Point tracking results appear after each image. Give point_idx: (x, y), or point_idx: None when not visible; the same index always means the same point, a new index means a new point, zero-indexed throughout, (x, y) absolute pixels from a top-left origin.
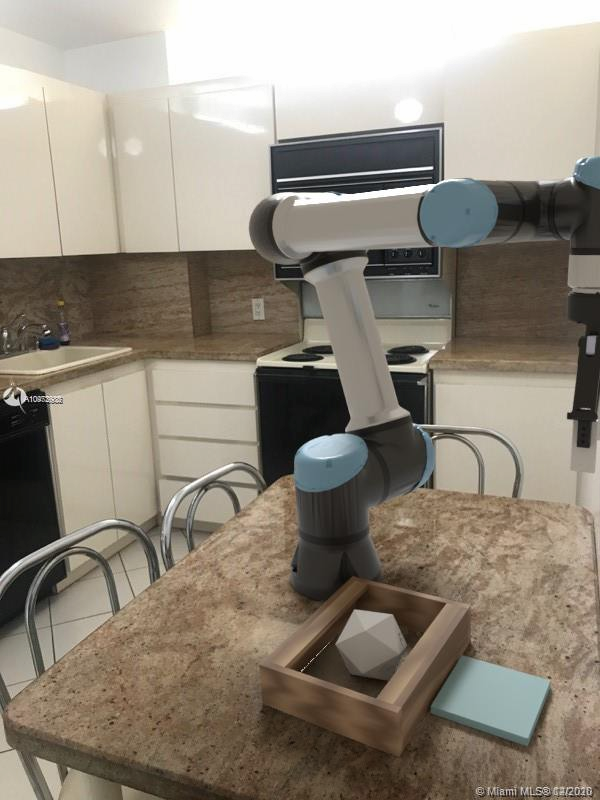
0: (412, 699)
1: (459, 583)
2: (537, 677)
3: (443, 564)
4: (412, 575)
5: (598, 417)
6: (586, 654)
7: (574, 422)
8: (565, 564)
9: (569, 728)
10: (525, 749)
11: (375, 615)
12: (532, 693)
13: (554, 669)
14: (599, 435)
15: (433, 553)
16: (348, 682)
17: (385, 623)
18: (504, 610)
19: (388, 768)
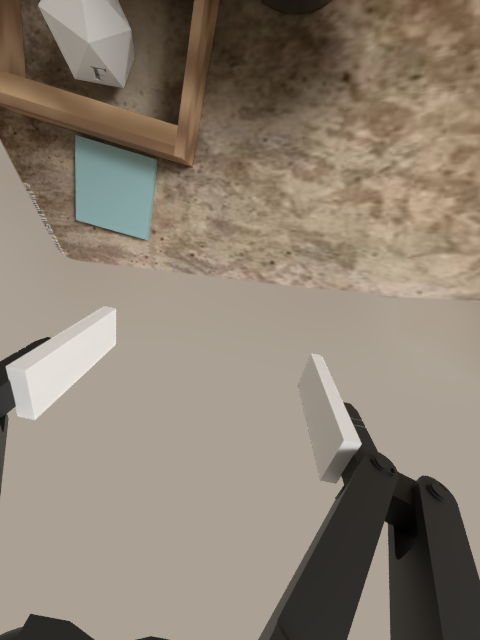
0: (21, 110)
1: (306, 143)
2: (146, 229)
3: (355, 114)
4: (322, 67)
5: (314, 407)
6: (200, 270)
7: (14, 363)
8: (355, 267)
9: (110, 249)
10: None
11: (75, 13)
12: (125, 224)
13: (173, 244)
14: (303, 381)
15: (390, 92)
16: None
17: (72, 37)
18: (254, 201)
19: None
